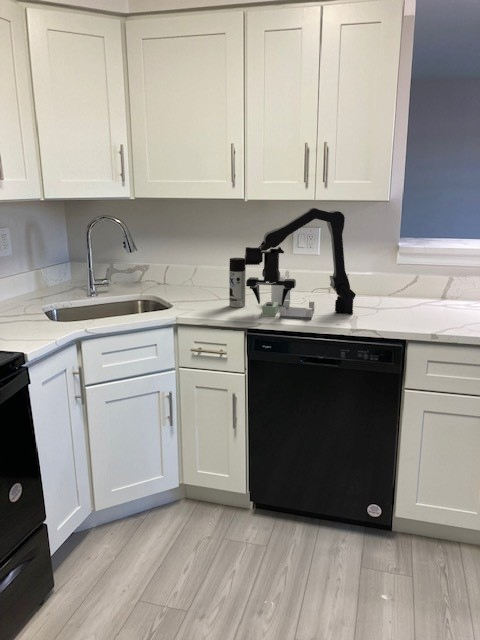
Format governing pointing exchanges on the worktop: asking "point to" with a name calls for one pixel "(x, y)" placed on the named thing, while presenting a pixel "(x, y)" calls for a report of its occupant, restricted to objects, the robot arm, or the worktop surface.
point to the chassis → (296, 311)
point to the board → (270, 309)
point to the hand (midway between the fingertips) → (270, 304)
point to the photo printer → (279, 292)
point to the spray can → (237, 282)
